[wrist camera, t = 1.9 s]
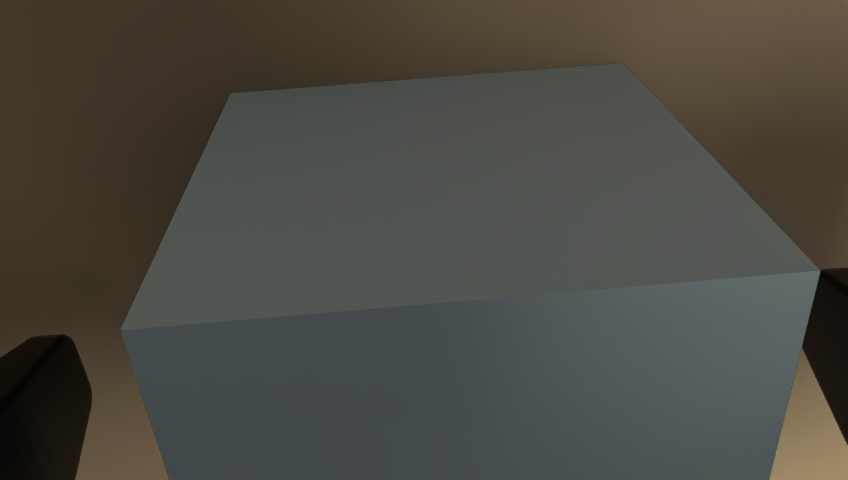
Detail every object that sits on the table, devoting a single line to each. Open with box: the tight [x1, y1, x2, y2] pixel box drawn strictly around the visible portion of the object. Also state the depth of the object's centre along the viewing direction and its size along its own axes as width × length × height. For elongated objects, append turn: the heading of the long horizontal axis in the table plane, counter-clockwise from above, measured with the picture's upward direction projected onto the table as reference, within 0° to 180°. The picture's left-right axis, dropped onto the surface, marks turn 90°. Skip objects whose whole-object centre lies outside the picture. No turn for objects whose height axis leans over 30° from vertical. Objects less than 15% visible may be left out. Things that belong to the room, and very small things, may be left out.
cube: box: [120, 63, 820, 480], centre depth 9 cm, size 5×5×5 cm
